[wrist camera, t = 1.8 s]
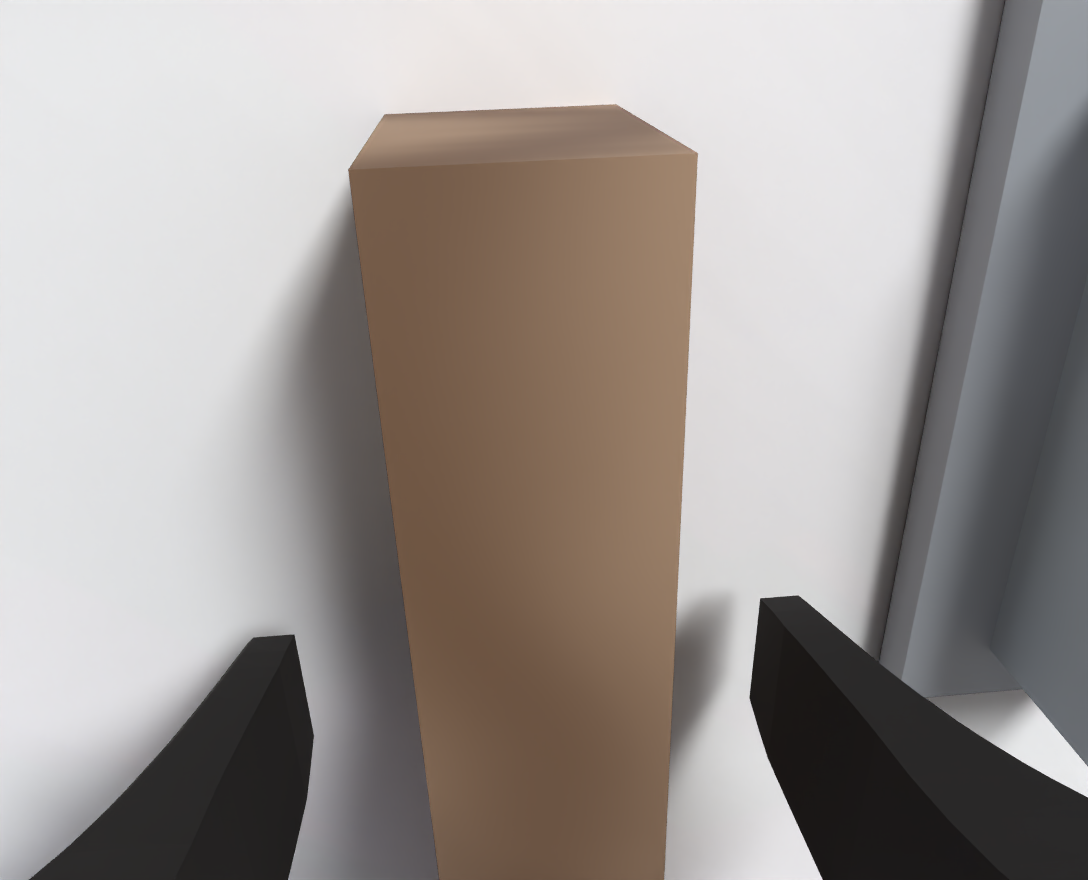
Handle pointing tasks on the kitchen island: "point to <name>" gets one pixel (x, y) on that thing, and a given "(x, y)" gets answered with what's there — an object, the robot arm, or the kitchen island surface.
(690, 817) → the kitchen island surface
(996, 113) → the fulcrum stand
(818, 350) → the kitchen island surface
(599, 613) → the walnut beam
